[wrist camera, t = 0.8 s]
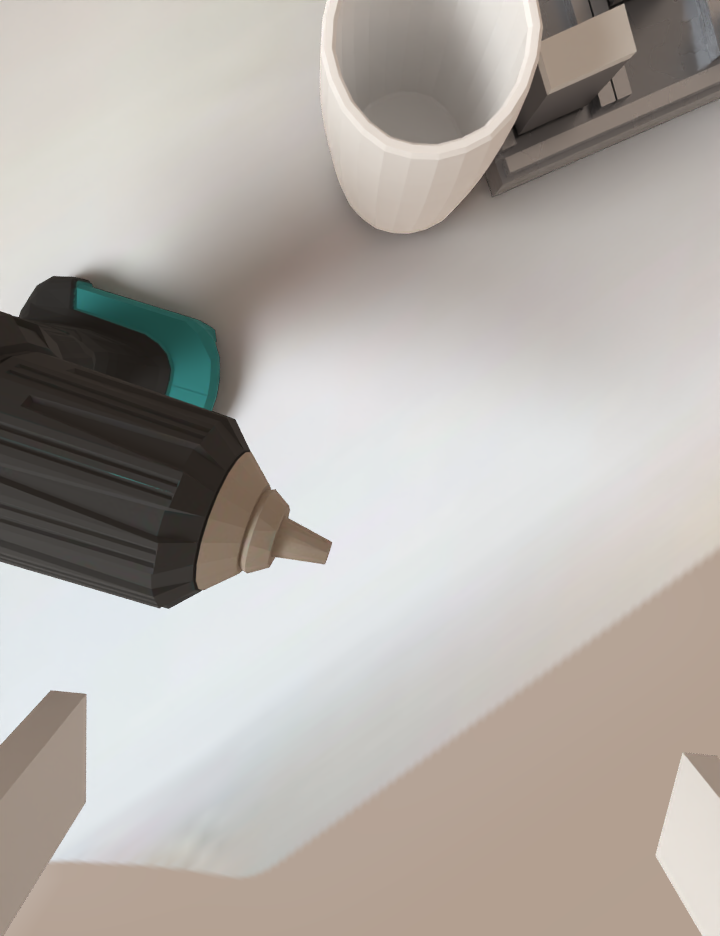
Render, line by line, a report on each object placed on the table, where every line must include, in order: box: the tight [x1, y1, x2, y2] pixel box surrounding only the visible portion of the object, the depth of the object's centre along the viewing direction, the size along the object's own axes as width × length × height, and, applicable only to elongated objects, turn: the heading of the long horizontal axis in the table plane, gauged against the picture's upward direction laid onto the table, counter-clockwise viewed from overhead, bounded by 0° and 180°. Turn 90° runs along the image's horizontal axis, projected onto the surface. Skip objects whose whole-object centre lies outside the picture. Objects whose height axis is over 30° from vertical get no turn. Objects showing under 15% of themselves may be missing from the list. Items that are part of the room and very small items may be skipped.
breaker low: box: [514, 4, 637, 135], centre depth 27 cm, size 2×4×5 cm, turn 113°
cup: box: [320, 0, 543, 234], centre depth 26 cm, size 8×8×14 cm
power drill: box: [0, 276, 332, 609], centre depth 23 cm, size 26×9×25 cm, turn 73°
